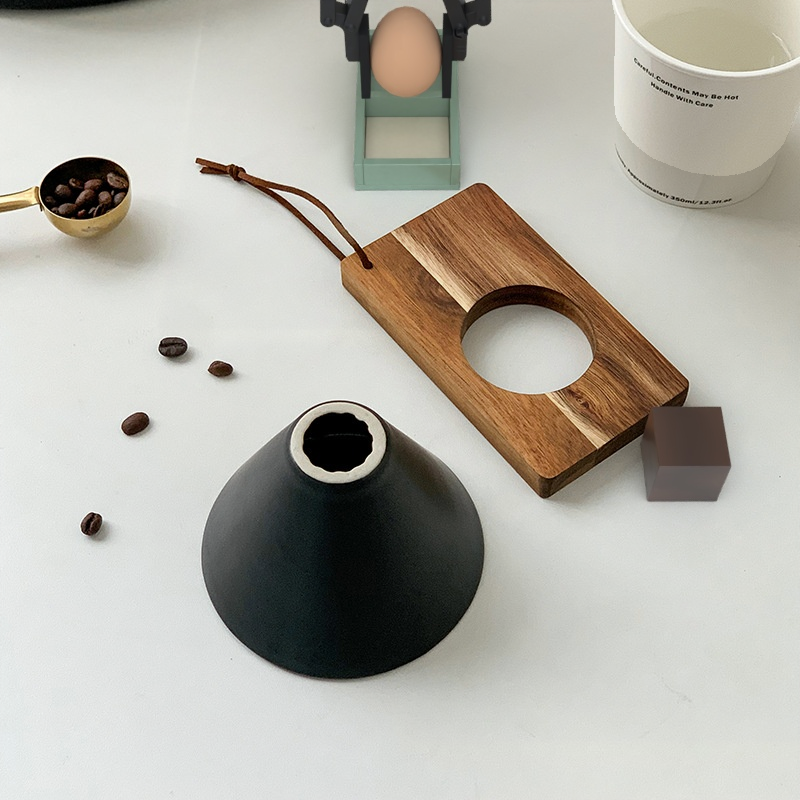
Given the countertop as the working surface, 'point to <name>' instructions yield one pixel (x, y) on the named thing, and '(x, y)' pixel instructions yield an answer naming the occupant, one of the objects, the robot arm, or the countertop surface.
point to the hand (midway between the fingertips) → (406, 87)
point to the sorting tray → (407, 137)
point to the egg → (405, 52)
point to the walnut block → (685, 454)
